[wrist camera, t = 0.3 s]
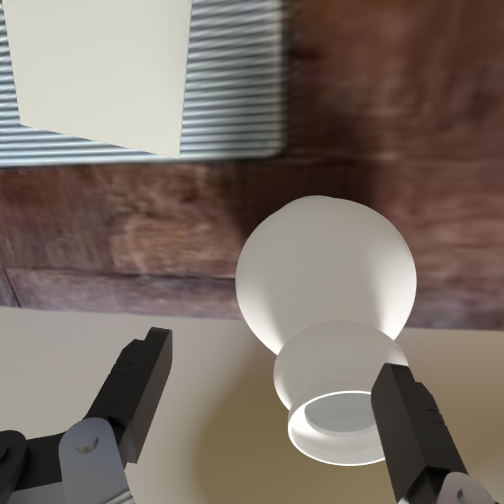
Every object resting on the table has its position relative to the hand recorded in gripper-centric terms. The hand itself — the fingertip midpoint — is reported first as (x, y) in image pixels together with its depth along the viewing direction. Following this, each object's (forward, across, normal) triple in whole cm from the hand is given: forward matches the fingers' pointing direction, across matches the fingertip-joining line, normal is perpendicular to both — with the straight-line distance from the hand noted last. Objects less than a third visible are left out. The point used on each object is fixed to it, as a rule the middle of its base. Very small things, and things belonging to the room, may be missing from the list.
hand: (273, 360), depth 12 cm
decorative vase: (+29, -6, +9) cm, 31 cm away
